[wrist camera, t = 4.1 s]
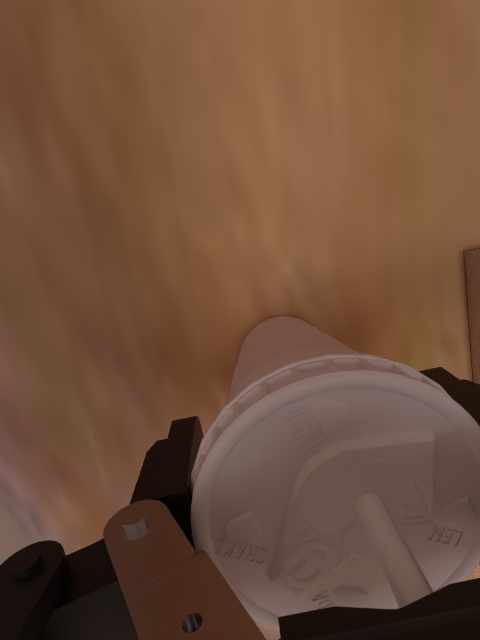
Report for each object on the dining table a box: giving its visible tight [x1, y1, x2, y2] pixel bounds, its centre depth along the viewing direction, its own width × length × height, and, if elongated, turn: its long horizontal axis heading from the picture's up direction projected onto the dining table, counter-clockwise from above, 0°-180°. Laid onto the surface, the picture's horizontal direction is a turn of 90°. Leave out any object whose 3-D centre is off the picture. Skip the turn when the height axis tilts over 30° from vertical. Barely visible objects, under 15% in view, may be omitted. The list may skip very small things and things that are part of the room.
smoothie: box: [191, 316, 480, 631], centre depth 11 cm, size 6×6×14 cm
